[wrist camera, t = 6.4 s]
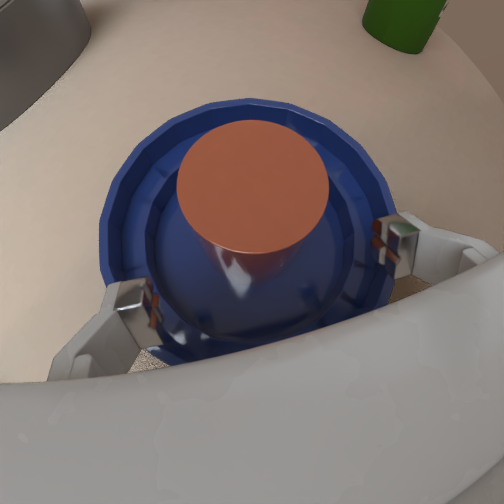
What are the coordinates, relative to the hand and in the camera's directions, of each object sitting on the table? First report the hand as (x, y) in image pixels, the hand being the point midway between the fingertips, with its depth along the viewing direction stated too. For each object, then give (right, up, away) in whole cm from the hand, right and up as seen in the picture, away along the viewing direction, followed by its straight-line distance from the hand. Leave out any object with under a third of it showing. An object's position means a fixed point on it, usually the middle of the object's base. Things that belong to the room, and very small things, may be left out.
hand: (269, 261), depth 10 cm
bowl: (-1, +1, +9) cm, 9 cm away
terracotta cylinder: (-1, +1, +8) cm, 8 cm away
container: (-34, +26, +14) cm, 45 cm away
